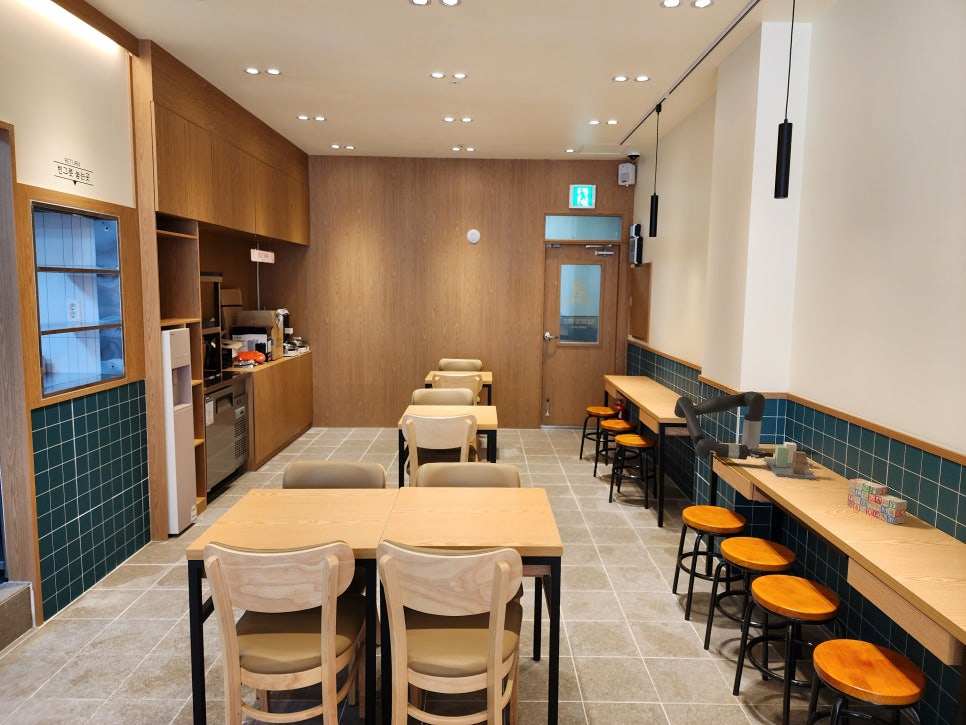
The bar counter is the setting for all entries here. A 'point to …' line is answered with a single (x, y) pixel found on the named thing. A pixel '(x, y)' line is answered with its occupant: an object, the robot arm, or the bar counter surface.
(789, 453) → the cream block
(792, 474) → the rail board
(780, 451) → the pale green block
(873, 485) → the stack of blocks
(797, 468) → the brown block
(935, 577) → the bar counter surface
